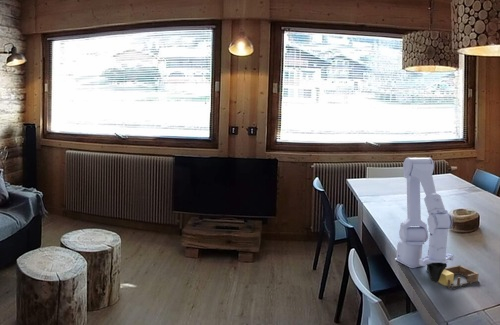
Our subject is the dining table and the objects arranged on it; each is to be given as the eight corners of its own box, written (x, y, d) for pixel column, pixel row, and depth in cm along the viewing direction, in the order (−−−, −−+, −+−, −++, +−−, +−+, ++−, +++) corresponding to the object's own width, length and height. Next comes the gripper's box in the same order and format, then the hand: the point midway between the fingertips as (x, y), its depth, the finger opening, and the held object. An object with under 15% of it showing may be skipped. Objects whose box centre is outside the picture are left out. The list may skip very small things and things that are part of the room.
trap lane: (430, 278, 145) (431, 271, 145) (459, 272, 151) (459, 265, 150) (451, 289, 137) (451, 281, 136) (480, 282, 142) (481, 274, 142)
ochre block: (436, 281, 143) (436, 271, 143) (443, 279, 145) (444, 269, 144) (445, 285, 140) (446, 275, 139) (453, 283, 141) (454, 273, 141)
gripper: (431, 252, 132) (428, 289, 134) (462, 246, 137) (458, 282, 139) (415, 245, 138) (412, 280, 140) (445, 239, 144) (442, 274, 146)
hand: (434, 280), depth 140 cm, fingers closed
